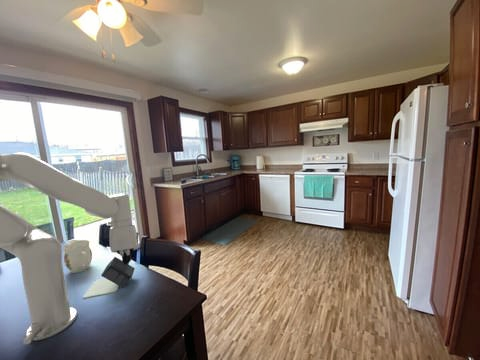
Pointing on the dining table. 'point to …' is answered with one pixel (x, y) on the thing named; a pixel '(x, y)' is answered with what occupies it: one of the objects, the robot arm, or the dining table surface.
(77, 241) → the pitcher
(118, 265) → the box
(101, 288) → the mat
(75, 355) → the dining table surface
